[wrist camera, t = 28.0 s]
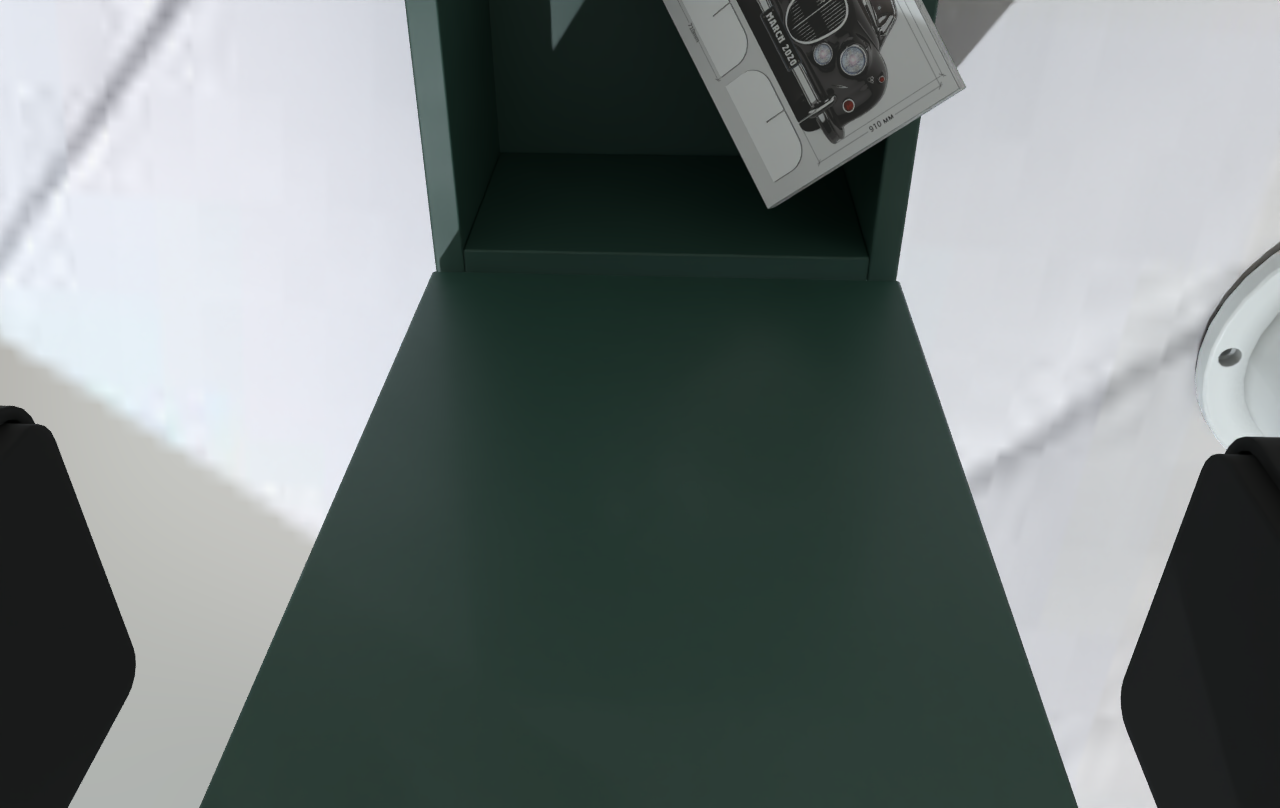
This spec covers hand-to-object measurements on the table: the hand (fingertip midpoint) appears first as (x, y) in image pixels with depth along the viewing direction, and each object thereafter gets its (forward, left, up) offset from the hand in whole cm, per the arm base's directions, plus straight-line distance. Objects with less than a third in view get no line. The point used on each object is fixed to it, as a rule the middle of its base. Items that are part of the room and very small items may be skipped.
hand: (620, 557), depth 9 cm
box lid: (0, +9, -13) cm, 16 cm away
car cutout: (-2, 0, -27) cm, 27 cm away
